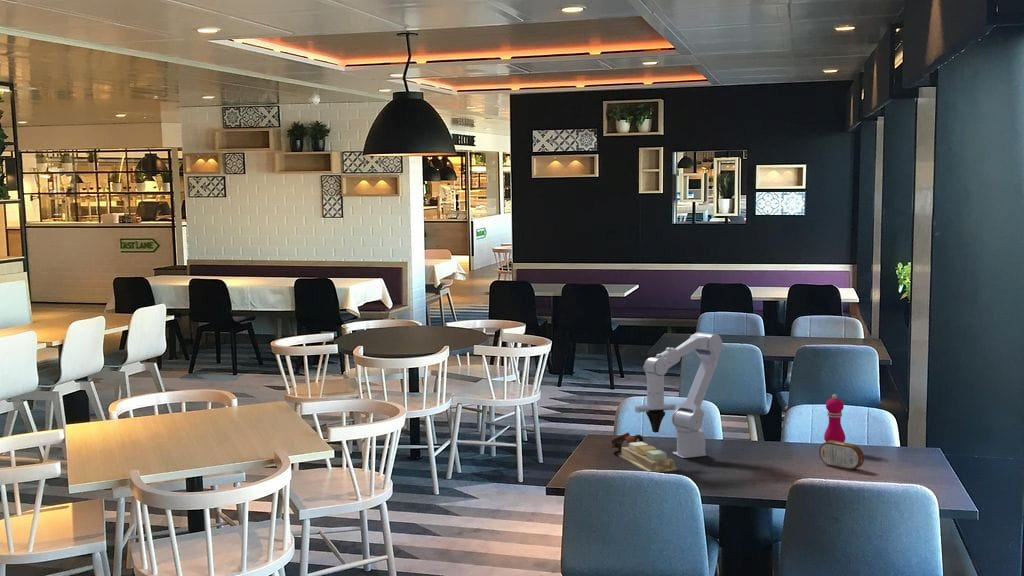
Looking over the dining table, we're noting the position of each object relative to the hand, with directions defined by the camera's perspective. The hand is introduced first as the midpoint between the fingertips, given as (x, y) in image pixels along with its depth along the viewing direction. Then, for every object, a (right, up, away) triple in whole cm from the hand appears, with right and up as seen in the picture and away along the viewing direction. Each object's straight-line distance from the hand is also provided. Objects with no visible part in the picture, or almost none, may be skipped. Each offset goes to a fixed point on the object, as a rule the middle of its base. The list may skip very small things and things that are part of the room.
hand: (655, 431), depth 343 cm
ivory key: (-5, -7, +5) cm, 10 cm away
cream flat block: (-3, -8, -1) cm, 8 cm away
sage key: (-1, -8, -8) cm, 12 cm away
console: (-3, -11, -1) cm, 11 cm away
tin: (+60, -10, -12) cm, 62 cm away
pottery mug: (-8, -10, +15) cm, 20 cm away
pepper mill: (+65, -8, +12) cm, 67 cm away
